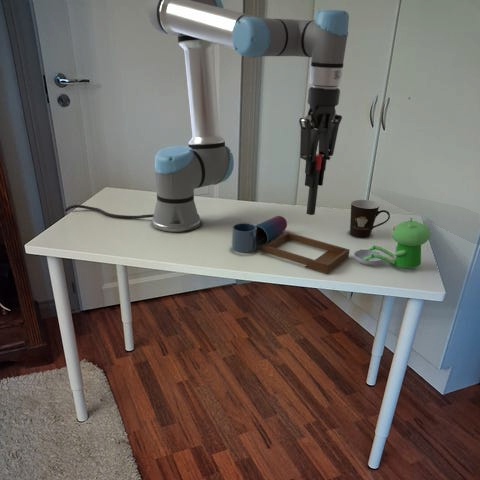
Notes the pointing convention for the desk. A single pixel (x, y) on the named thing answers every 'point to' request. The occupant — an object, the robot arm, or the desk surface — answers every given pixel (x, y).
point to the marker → (314, 188)
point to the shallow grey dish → (365, 253)
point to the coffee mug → (364, 217)
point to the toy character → (405, 244)
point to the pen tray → (321, 264)
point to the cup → (270, 229)
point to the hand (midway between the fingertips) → (313, 185)
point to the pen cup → (244, 237)
